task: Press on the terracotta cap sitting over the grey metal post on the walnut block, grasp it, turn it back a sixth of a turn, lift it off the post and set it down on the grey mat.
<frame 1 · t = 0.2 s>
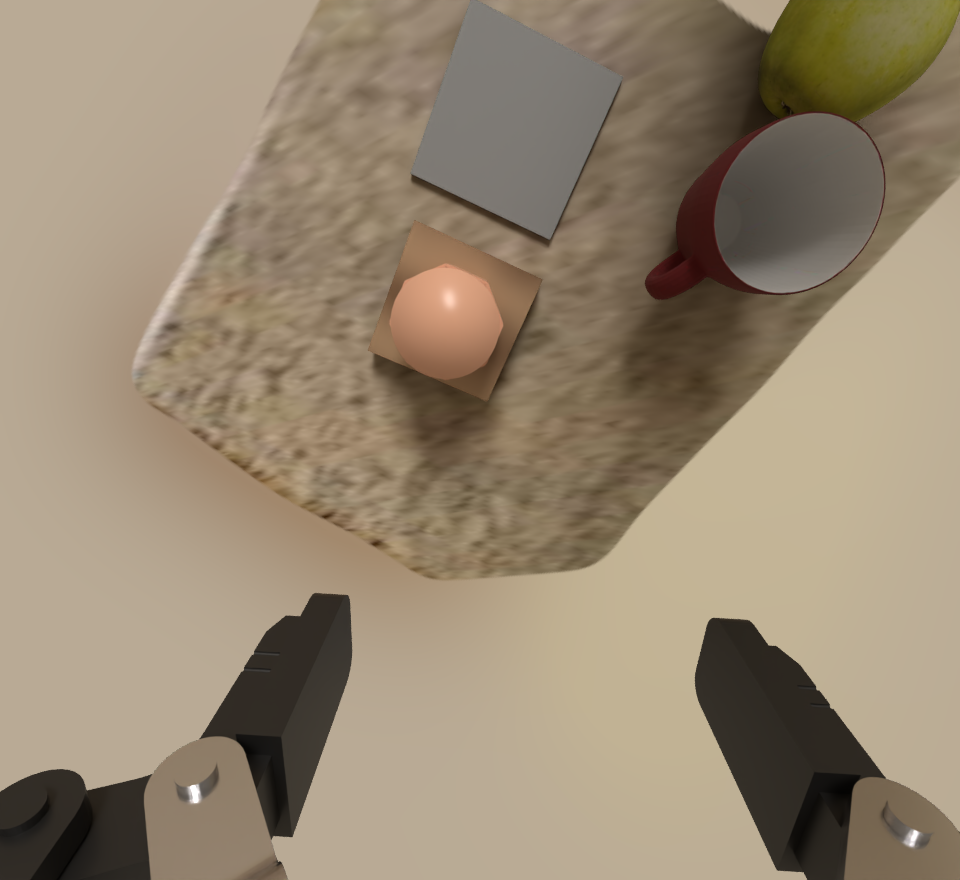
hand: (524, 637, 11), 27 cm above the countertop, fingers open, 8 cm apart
cap: (452, 316, 34), point 2 cm above the countertop, touching post block
apple: (805, 67, 31), on the countertop
mat: (513, 128, 32), on the countertop
post block: (455, 313, 36), on the countertop
mug: (695, 238, 34), on the countertop
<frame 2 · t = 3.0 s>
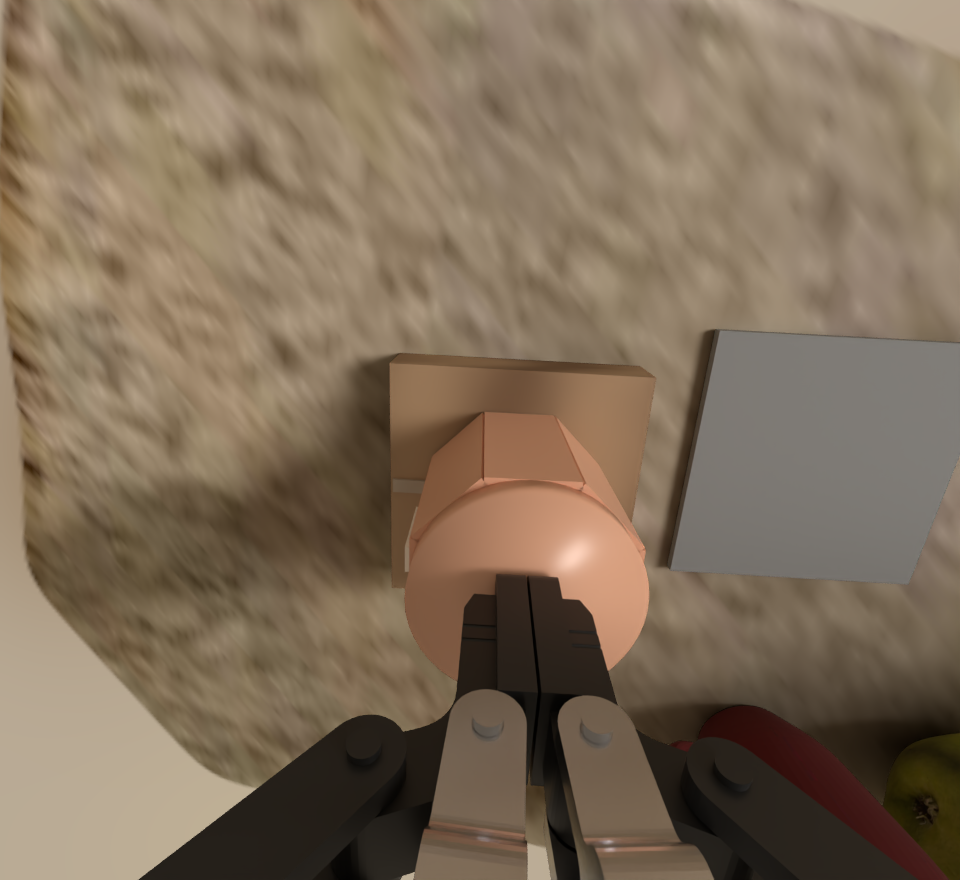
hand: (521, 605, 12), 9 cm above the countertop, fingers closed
cap: (512, 492, 18), point 2 cm above the countertop, touching post block
apple: (932, 752, 25), on the countertop
mat: (815, 464, 20), on the countertop
post block: (511, 470, 20), on the countertop
mug: (715, 723, 25), on the countertop
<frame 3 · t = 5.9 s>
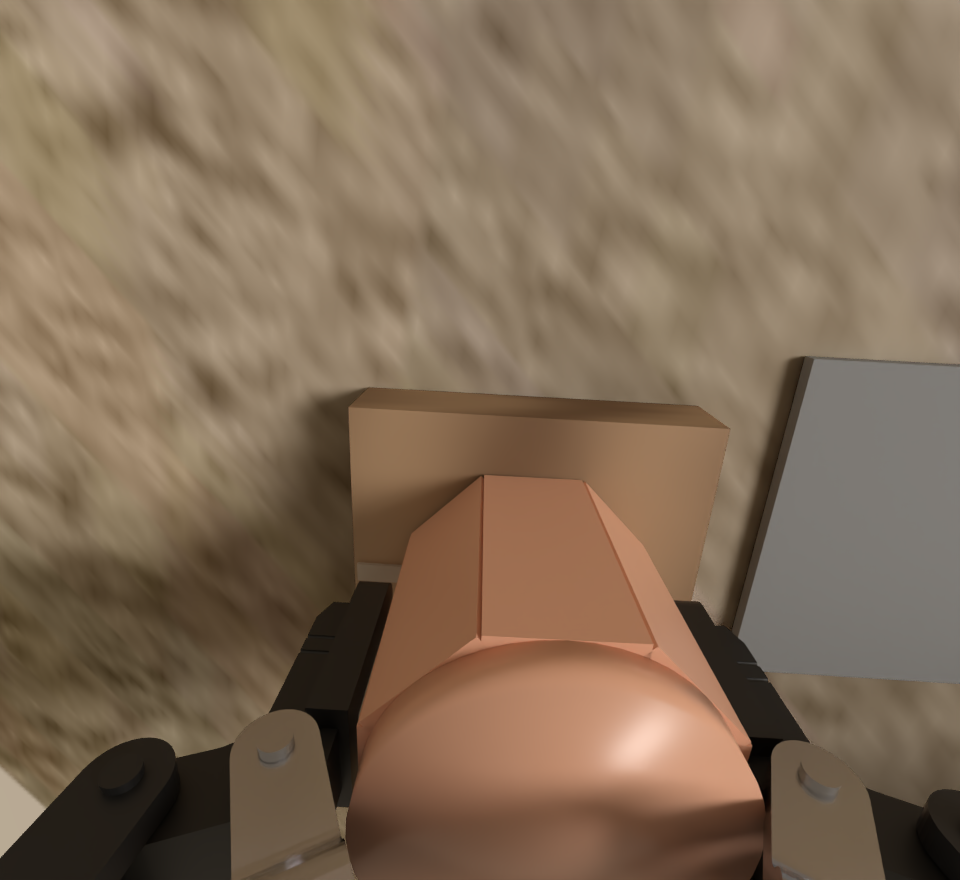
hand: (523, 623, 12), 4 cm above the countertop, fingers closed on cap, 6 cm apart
cap: (523, 581, 13), point 2 cm above the countertop, touching gripper, post block
mat: (931, 535, 15), on the countertop
post block: (520, 540, 15), on the countertop
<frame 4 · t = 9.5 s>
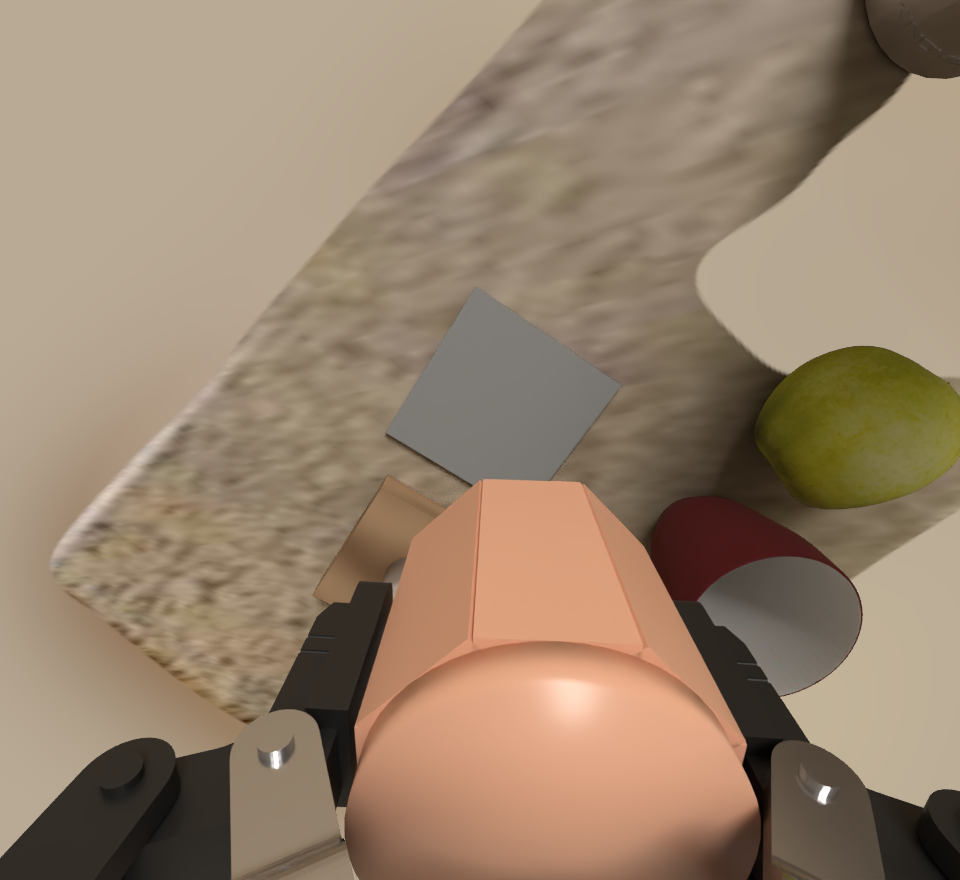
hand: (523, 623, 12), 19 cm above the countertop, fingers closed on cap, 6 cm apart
cap: (525, 583, 13), point 18 cm above the countertop, touching gripper
apple: (805, 404, 30), on the countertop
mat: (500, 407, 30), on the countertop
post block: (413, 561, 33), on the countertop
mug: (671, 533, 33), on the countertop
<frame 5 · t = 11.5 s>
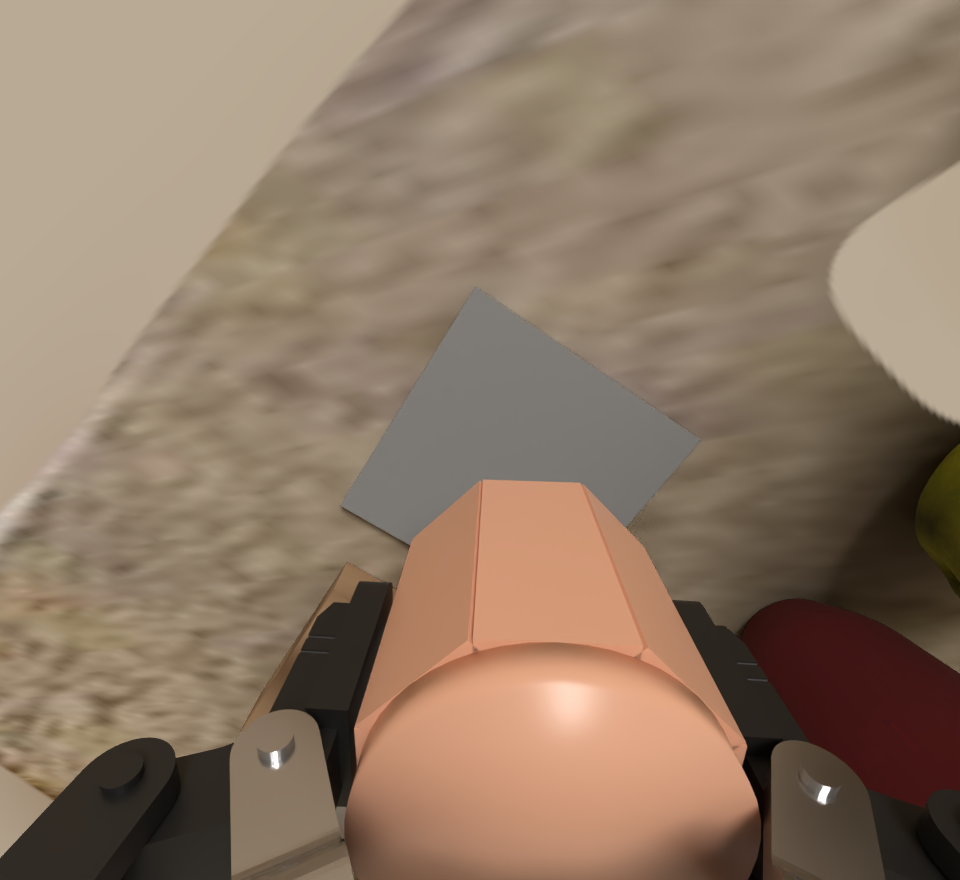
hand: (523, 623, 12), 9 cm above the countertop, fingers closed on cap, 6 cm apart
cap: (525, 584, 13), point 7 cm above the countertop, touching gripper
mat: (513, 470, 20), on the countertop
post block: (386, 676, 24), on the countertop
mug: (759, 645, 23), on the countertop
when the fingers open (4 cm above the countertop, at t = 13.1 s): cap drops 1 cm, resting on mat.
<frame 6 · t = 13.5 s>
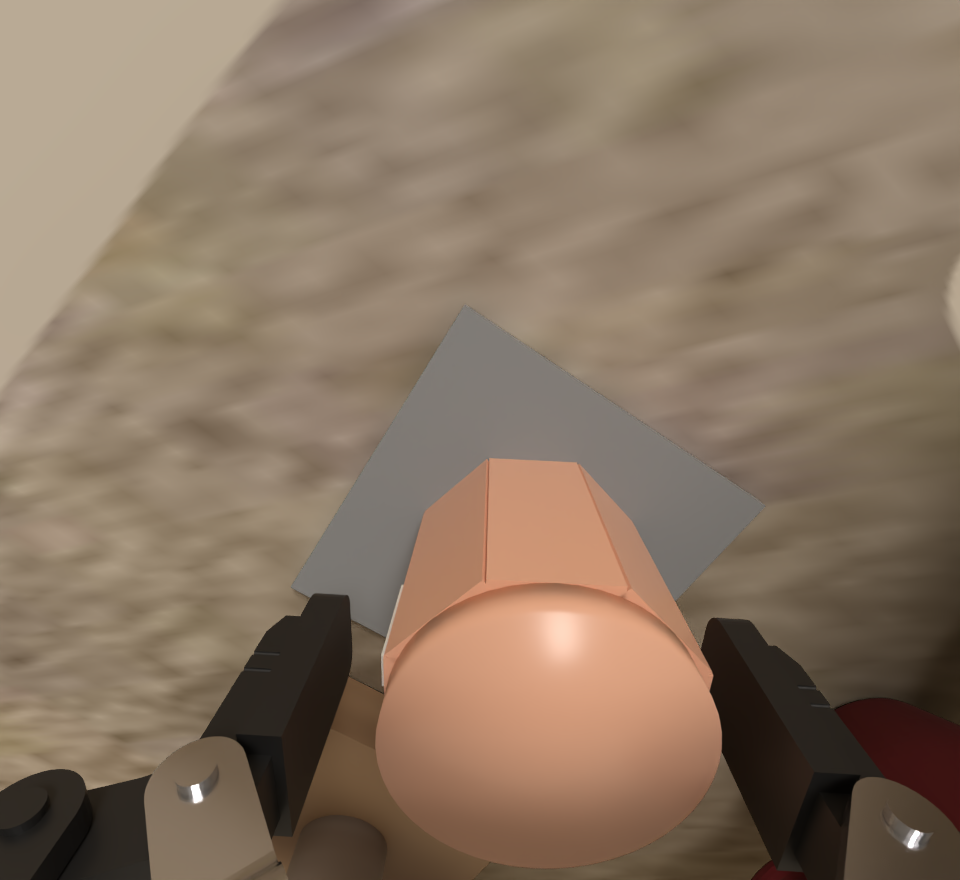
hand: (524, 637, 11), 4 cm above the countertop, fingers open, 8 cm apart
cap: (525, 554, 15), resting on mat
mat: (516, 541, 15), on the countertop
post block: (358, 787, 19), on the countertop
mug: (826, 750, 18), on the countertop
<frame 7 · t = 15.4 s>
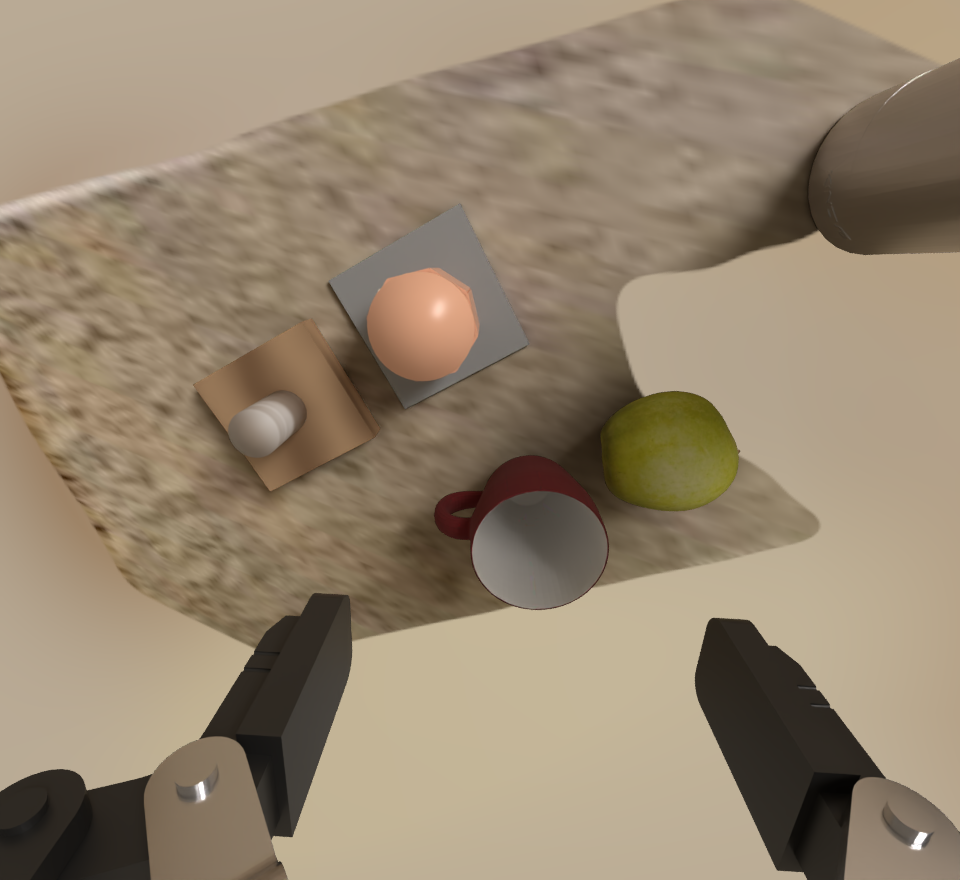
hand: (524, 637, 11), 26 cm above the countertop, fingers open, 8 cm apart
cap: (432, 317, 34), resting on mat
apple: (649, 431, 37), on the countertop
mat: (431, 312, 34), on the countertop
post block: (295, 404, 37), on the countertop
mug: (510, 483, 39), on the countertop
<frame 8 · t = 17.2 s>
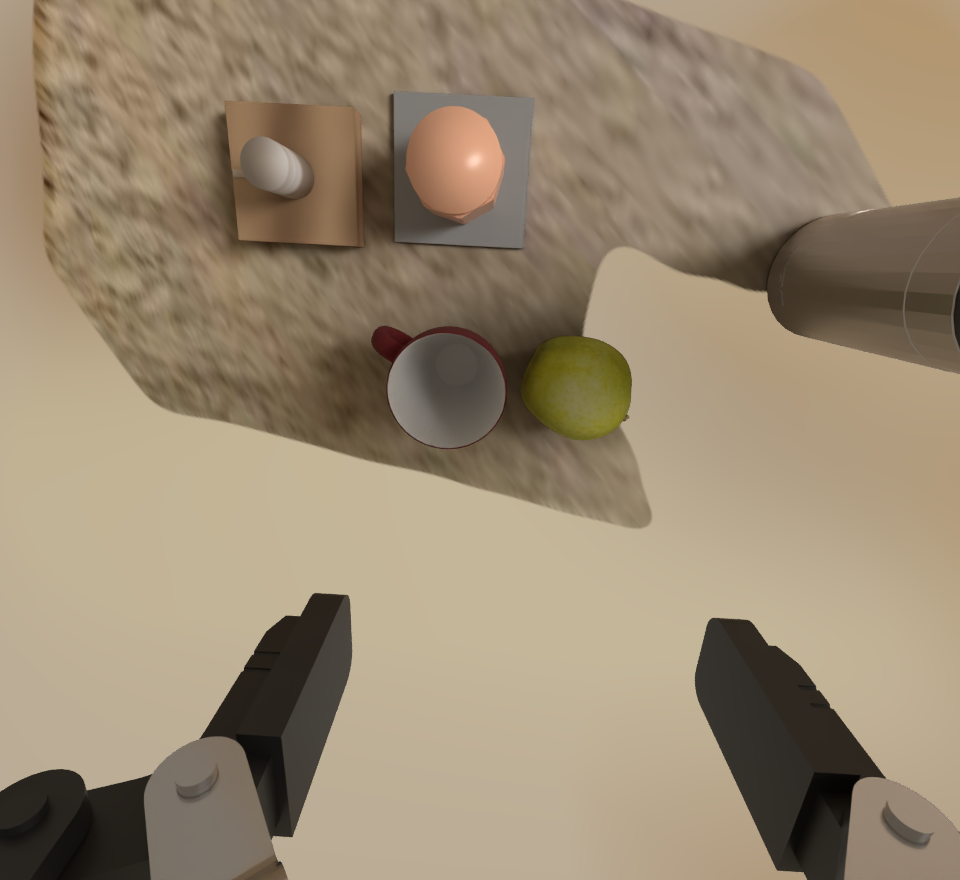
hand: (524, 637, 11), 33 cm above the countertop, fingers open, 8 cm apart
cap: (460, 177, 38), resting on mat
apple: (571, 376, 43), on the countertop
mat: (461, 174, 38), on the countertop
post block: (303, 180, 38), on the countertop
mug: (443, 358, 43), on the countertop
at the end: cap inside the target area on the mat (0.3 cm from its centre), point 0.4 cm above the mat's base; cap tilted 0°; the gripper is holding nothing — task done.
